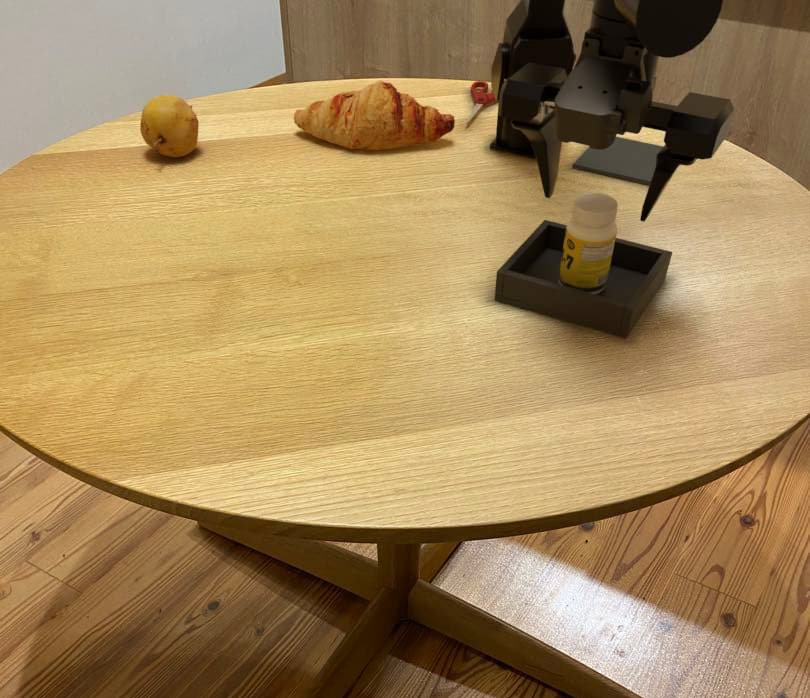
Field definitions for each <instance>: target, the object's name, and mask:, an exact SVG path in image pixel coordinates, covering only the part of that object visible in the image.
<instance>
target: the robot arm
mask: <svg viewBox="0 0 810 698" xmlns="http://www.w3.org/2000/svg"><path fill="white" fill-rule="evenodd" d="M565 3H566V0H520V1H519V2H518V4H517V5H516V7H514V9H513V11H512V12H511V13H510V15H509V16H508V17H507V19H506V21H505V26H504V32H503V37H502V42H499V43H498V45H497V48H496V52H495V55H494V57H493V62H492V66H491V69H490V70H491V71H490V74H491V76H490V80H491V81H490V84H491V85H490V87H491V91H492V90H493V93H494V96H495V98H496V101H495V102H498V105H497V117H496V131H495V133H496V134H495V139H494V140H492V141H491V142H490V144H489V149H491V150H495V151H499V152H504V153H508V154H512V155H517V156H520V157H521V156H522V157H525V158H530V159H535V161H536V163H537V164H536V165H537V168H538V169H537V170H538V173H539V177H540V181H541V185H542V189H543V195H544V197H545V198H546V199H550V198H552V197H553V195H554V192H555V188H556V183H557V180H558V175H559V168H560V167H559V166H560V160H561V159H560V158H561V152H562V151H561V150H562V143H565V144H569V143H575V144H579V145H583V146H588V147H591V148H592V149H597V150H602V149H606V148H608V147H610V146H611V145H612V144H613V142H614V140H615V138H616V137H617V136H618V135H619V136H624V135H625V133H629V134H633V135H634V134H635V135H639V134H640V133H641V131H642V129H643V128H645V129H652V130H654V131H655V130H656V131H660V132H664V137H663V143H664V145H663V148H662V149H661V150H660V152H659V153H658V154H657V157H656V167H655V171H654V174H653V177H652V180H651V183H650V185H648V189H647V192H646V195H645V198H644V201H643V204H642V207H641V212H640V217H639V218H640V219H639V221H641V222H645V221H646V220H647V219H648V218H649V216H650V214H651V213H652V211H653V210H654V207H655V206H656V204H657V202H658V201H659V199H660V197H661V196H662V195H663V192H664V190H665V189H666V187H667V186H668V184H669V182H670V180H671V179H672V177H673V175H674V174H675V172H676V171H677V170H678V169H679V166H692V165H695V163H696V162H697V161H698V160H703V161H704V160H710V159H712V158H713V156H714V155H715V154H716V152H717V151H718V150H719V148H720V147H721V146H722V144H723V142H725V140H726V139H727V137H728V135H729V134H730V130H731V126H732V122H733V119H734V115H735V107H734V105H733V102H732V101H731V99H729V98H726V97H725V98H724V97H718V96H714V95H709V94H708V95H707V94H703V93H698V92H691V91H689V92H688V93H687V94H686V95H685V96H684V97H683V98H682V100H681V101H680V102H679V103H678V104H677V105H674V104H670V103H669V104H668V103H664V102H658V101H653V92H654V91H655V87H656V83H657V79H658V78H657V77H658V76H656V73H657V67H658V63H659V59H660V58H663V59H666V58H667V59H672V58H676V57H679V56H684V55H685V54H687V53H690V52H691V51H692V50H694V49H695V48H696V47H698V46H699V45H700V44H701V43H703V41H704V40H705V39H706V38H707V37H708V36H709V34H711V32H712V30H713V29H714V26H715V25H716V23H717V22H718V19H719V18H720V17H719V16H720V13H721V11H722V7H723V3H724V0H593V5H592V11H591V17H590V24H589V28H588V29H587V30H586V31H584V35H583V40H582V42H581V48H580V53H579V55H578V58H577V54H576V52H575V50H574V42H573V38H572V34H571V30H570V28H569V27H570V26H569V23H568V20H567V17H566V14H565V11H564V9H565Z"/></svg>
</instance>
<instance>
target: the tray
mask: <svg viewBox="0 0 810 698" xmlns="http://www.w3.org/2000/svg"><path fill="white" fill-rule="evenodd" d="M566 225H567V224H564V223H560V222H555V221H551V220H548V219H543V221H542V222H541V223H540V224H539V225H538V226H537V227H536V228H535V229H534V231H533V232H532V233H531V234H530V235H529V236H528V237H527V238H526V239H525V240H524V241H523V243H522V244H521V245H520V246H519V247H518V248H516V250H515V251H514V252H513V253H512V254H511V255H510V257H509V258H507V260H506V261H505V262H504V263H503V264H502V265H501V266H500V268H498V270H497V271H496V277H495V288H494V289H495V290H494V301H497V302H501V303H504V304H508V305H511V306H514V307H517V308H521V309H524V310H527V311H532V312H535V313H538V314H541V315H545V316H547V317H551V318H555V319H558V320H562V321H565V322H568V323H571V324H575V325H578V326H581V327H585V328H588V329H592V330H595V331H598V332H601V333H604V334H608V335H611V336H615V337H619V338H622V339H624V340H625V339H628V337H629V336H630V334H631V332H632V331H633V329H634V328H635V326H636V325H637V324H638V322H639V320H640V319H641V317H642V316H643V314H645V313H644V312H645V311H646V310H647V308H648V307H649V305H650V304H651V302H652V300H653V299H654V298H655V296H656V295H657V293H658V291H659V290H660V288H661V287H662V285H663V284H664V282H665V281H666V278H667V274H668V271H669V268H670V263H671V258H672V256H673V251H670V250H666V249H662V248H659V247H655V246H650V245H646V244H643V243H638V242H634V241H630V240H626V239H624V238H619V237H616V238H615V243H614V248H613V254H612V258H611V263H610V268H609V273H608V278H607V283H606V286H605V288H604V290H603V291H601V292H600V293H598V294H591V293H588V292H584V291H581V290H577V289H574V288H570V287H566V286H563V285H560V284H559V281H558V279H559V271H560V265H561V258H562V251H563V245H564V238H565V232H566Z"/></svg>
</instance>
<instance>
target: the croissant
mask: <svg viewBox="0 0 810 698" xmlns="http://www.w3.org/2000/svg"><path fill="white" fill-rule="evenodd" d="M293 120H294V121H293V122H294V124H295V125H296V127H297V128H299V129H300V130H302V131H303V132H305V133H306V134H309V135H311V136H313V138H317V139H319V140H322V141H323V140H324V141H326V142H328V143H330V144H333V145H338V146H341V147H344V148H347V149H350V150H355V149H357V150H368V151H379V150H390V149H393V148H399V147H402V146H418V145H421V144H422V145H423V144H427V143H431V142H436V141H437V140H438V139H441V138H442V137H443V136H445V135H446V134H449V133H451V132H453V130H454V128H455V122H456V120H455V116H454V115H453V114H450V113H440V112H439V110H438V108H436V107H432V106H431V105H425V106H423V105H422V104H420V103H419V102H418V101H417V100H416V99H415V98H414V97H412V96H410V95H409V94H407V93H402V92H400V91H398V89H397V88H396V87H395V86H394V85H393V83H391V82H385V81H383V80H379V81H378V80H377V81H376V82H375V83H371V84H368V85H366V86H365V87H363V88H362V89H361V90H350V91H342V92H339V93H337V94H335V95H333V96H332V97H331V98H328V99H326V100H316V101H314V102H311V104H308V105H307V106H306V107H305V108H304V109H295V112H294V114H293Z"/></svg>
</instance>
